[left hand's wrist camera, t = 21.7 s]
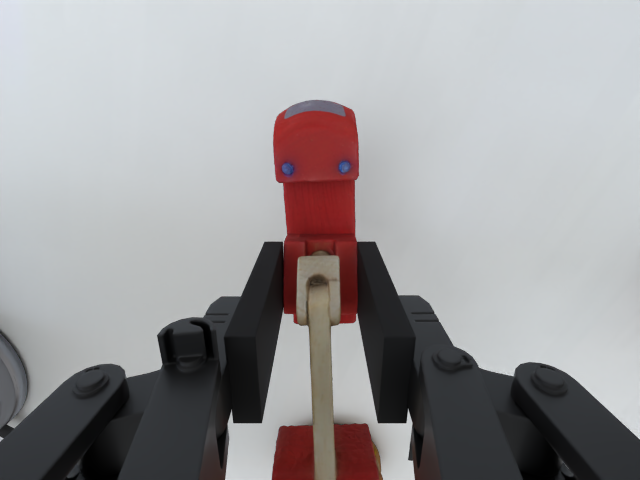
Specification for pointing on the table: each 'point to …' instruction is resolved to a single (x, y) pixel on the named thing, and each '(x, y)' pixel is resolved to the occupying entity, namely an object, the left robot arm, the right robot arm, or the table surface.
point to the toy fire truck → (320, 280)
